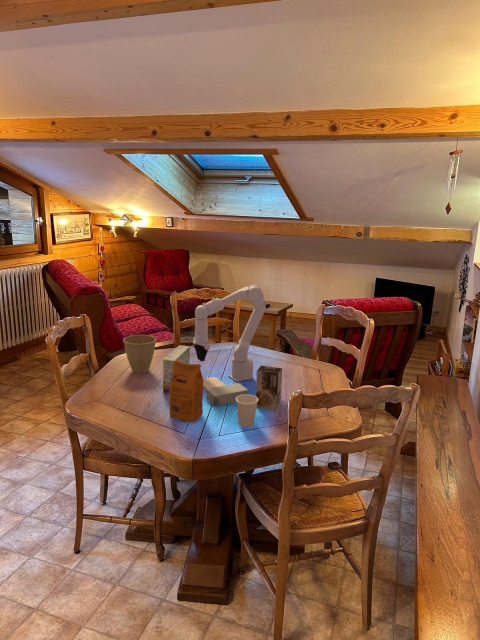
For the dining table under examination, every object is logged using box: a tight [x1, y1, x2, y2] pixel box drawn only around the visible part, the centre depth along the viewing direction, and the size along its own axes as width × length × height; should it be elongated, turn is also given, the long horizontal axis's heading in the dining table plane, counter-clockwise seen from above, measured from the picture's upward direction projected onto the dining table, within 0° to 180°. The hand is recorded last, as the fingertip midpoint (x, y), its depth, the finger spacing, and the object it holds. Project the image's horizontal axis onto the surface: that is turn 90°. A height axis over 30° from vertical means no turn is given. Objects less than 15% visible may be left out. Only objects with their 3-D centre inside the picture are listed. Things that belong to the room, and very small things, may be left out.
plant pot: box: [123, 334, 157, 374], centre depth 218 cm, size 15×15×16 cm
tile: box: [203, 376, 226, 393], centre depth 204 cm, size 9×13×2 cm
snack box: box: [162, 345, 191, 394], centre depth 204 cm, size 21×6×15 cm, turn 168°
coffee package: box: [168, 360, 204, 424], centre depth 173 cm, size 10×12×22 cm
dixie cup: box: [235, 393, 258, 428], centre depth 170 cm, size 8×8×10 cm
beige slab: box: [206, 382, 249, 407], centre depth 191 cm, size 15×8×4 cm, turn 118°
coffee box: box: [255, 365, 283, 412], centre depth 184 cm, size 9×6×16 cm
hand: (201, 360), depth 212 cm, fingers closed
